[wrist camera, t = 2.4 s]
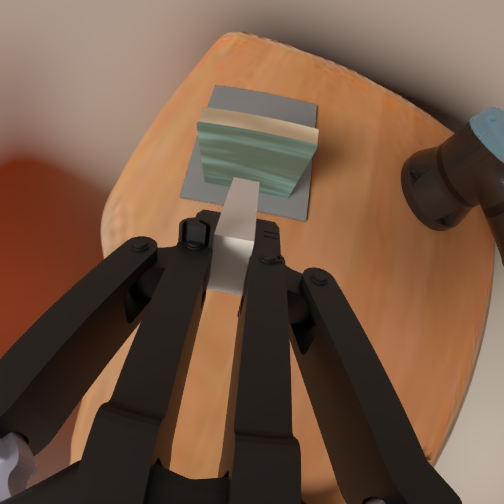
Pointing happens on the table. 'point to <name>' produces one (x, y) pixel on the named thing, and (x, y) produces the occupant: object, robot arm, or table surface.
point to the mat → (264, 107)
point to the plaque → (254, 150)
